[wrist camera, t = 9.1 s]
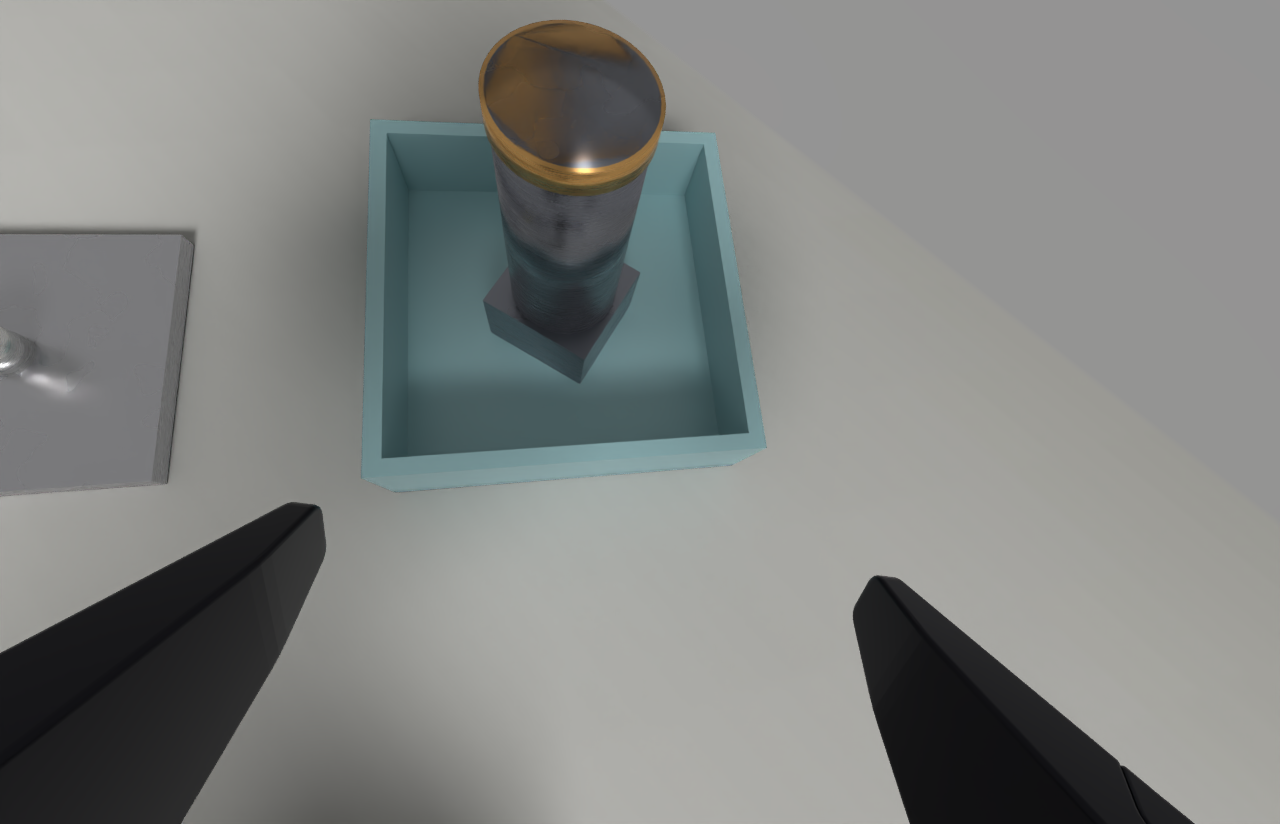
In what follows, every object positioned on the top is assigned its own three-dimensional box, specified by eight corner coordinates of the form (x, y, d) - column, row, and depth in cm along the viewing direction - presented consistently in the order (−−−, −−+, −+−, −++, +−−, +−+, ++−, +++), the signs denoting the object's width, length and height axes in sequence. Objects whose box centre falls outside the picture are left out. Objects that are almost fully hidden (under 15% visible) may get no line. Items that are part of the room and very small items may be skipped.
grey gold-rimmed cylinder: (580, 384, 23) (610, 211, 11) (491, 332, 23) (431, 106, 11) (629, 305, 24) (701, 81, 13) (545, 256, 24) (542, -14, 13)
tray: (731, 465, 24) (766, 447, 20) (395, 492, 21) (361, 478, 17) (691, 192, 27) (714, 132, 23) (398, 187, 24) (370, 119, 21)
